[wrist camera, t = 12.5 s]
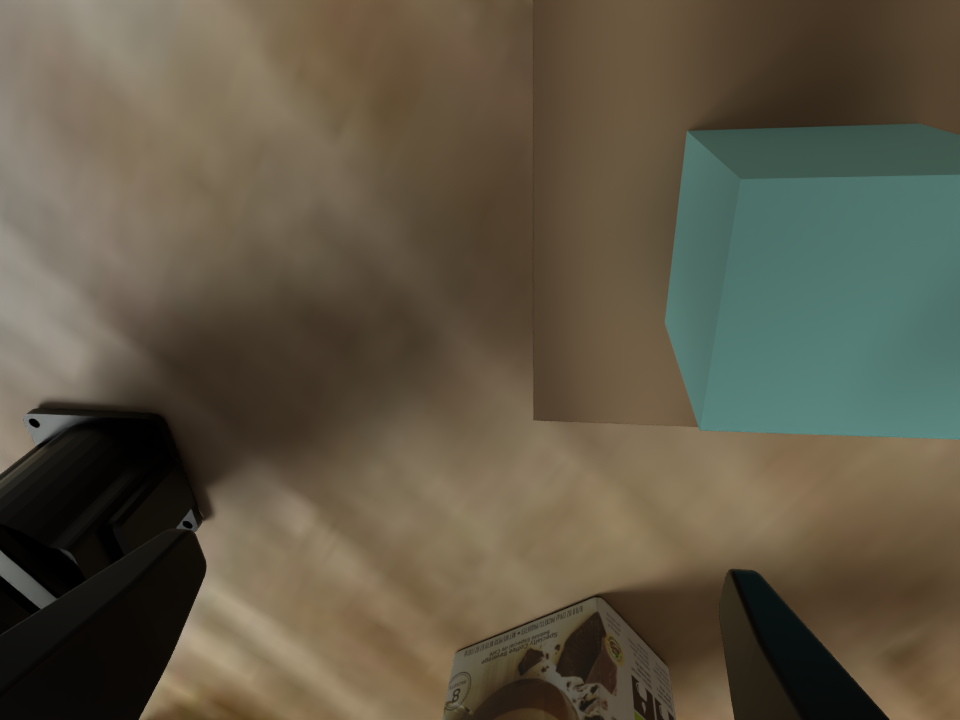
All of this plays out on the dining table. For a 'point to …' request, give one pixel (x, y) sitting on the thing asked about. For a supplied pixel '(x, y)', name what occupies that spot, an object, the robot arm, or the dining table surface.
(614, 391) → the walnut block
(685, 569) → the dining table surface
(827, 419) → the teal block
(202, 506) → the dining table surface
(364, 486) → the dining table surface
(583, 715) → the coffee box
